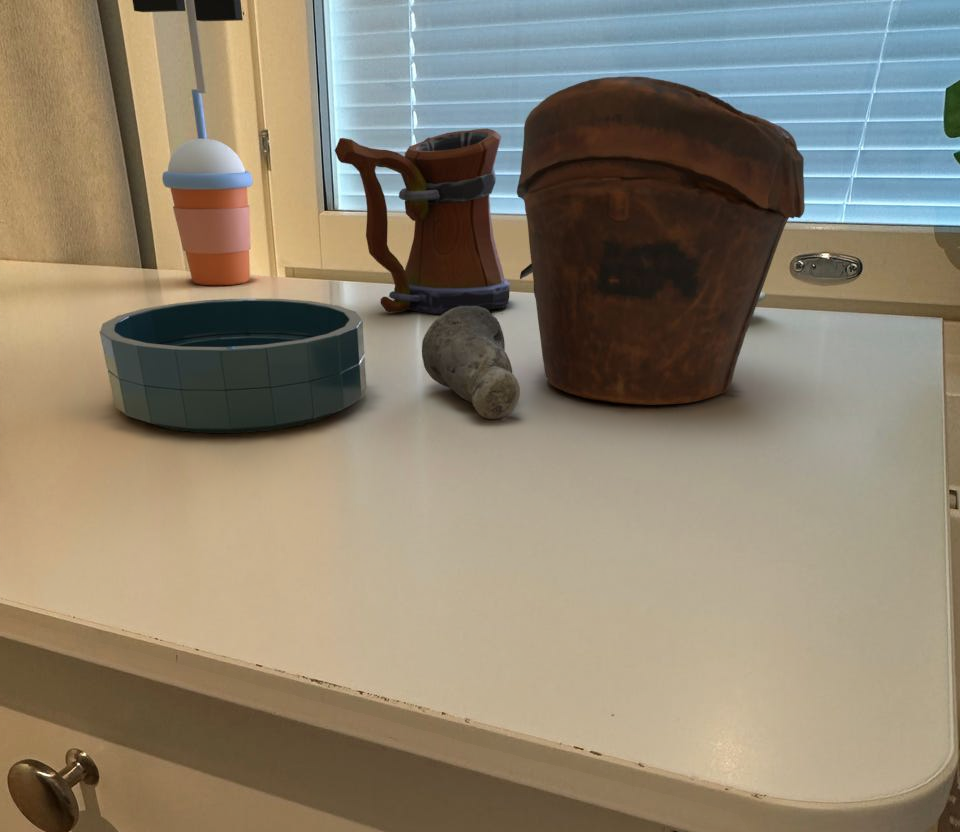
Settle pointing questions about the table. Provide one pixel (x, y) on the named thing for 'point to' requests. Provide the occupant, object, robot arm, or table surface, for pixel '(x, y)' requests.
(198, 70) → the lollipop
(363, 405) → the table surface
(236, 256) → the cup with straw
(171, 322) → the bowl
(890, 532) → the table surface
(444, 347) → the stone
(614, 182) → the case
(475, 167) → the mug
